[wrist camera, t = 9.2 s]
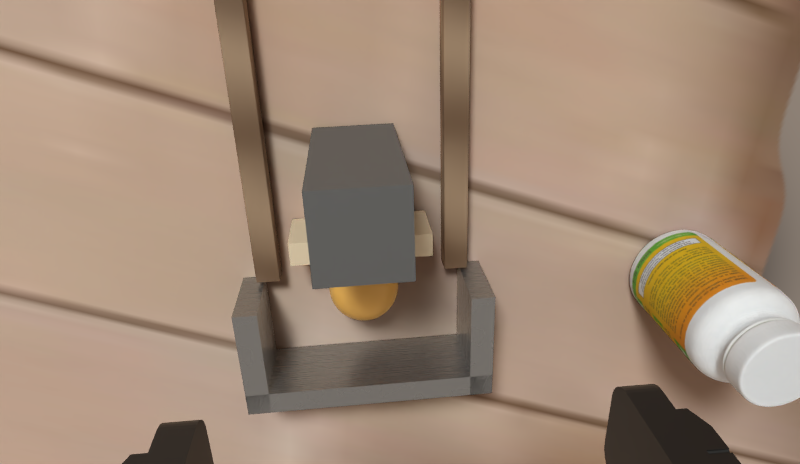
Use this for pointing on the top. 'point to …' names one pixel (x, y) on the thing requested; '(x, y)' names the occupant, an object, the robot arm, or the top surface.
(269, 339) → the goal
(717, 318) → the supplement bottle
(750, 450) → the top surface
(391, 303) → the ball
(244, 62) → the lane
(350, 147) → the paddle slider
